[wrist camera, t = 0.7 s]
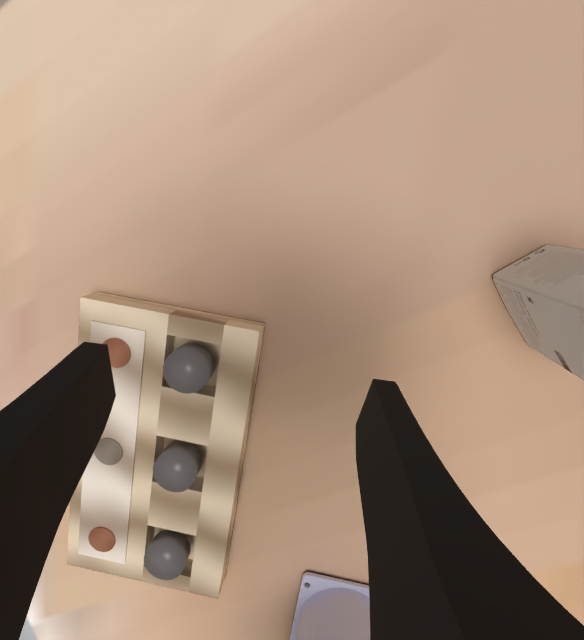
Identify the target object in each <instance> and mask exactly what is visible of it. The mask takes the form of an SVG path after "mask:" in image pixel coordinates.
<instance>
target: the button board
mask: <svg viewBox="0 0 584 640" xmlns="http://www.w3.org/2000/svg"><path fill="white" fill-rule="evenodd" d="M264 327H265V323H261V322H255V321H250V320H245V319H239V318H234V317H229V316H224V315H218V314H213V313H208V312H202V311H197V310H192V309H187V308H181V307H176V306H171V305H165V304H160V303H155V302H149V301H144V300H139V299H134V298H128V297H123V296H118V295H112V294H107V293H102V292H96V293H93V294H90V295H87V296H84V297H81V299H80V319H79V339H78V346H79V345H80V344H82V343H83V342H91V343H99V344H107V345H108V350H109V356H110V362H111V368H112V374H113V380H114V386H115V392H116V397H115V400H114V403H113V406H112V410H111V413H110V416H109V418H108V421H107V424H106V427H105V430H104V432H103V434H102V436H101V438H100V440H99V442H98V445H97V447H96V449H95V451H94V453H93V455H92V457H91V459H90V461H89V463H88V465H87V467H86V469H85V471H84V473H83V475H82V477H81V479H80V481H79V483H78V485H77V488H76V490H75V492H74V494H73V496H72V498H71V500H70V517H69V537H68V556H67V564H68V565H73V566H77V567H81V568H86V569H90V570H94V571H99V572H103V573H107V574H112V575H116V576H120V577H125V578H129V579H133V580H138V581H142V582H146V583H151V584H155V585H160V586H164V587H168V588H173V589H177V590H181V591H186V592H190V593H194V594H199V595H203V596H207V597H212V598H216V599H218V598H219V595H220V592H221V589H222V585H223V582H224V579H225V576H226V570H227V563H228V557H229V550H230V544H231V538H232V531H233V525H234V519H235V512H236V506H237V499H238V493H239V487H240V480H241V474H242V468H243V461H244V455H245V448H246V442H247V436H248V429H249V423H250V417H251V410H252V404H253V397H254V391H255V385H256V378H257V372H258V366H259V359H260V353H261V346H262V340H263V334H264ZM186 343H197V344H200V345H202V346H204V347H205V348H207V349H208V350H209V351H210V353H211V354H212V356H213V359H214V362H215V369H214V372H213V375H212V376H211V378H210V379H209V380H208V381H207V383H206V384H205V385H204V386H203V387H202V388H201V389H200V390H199V391H197V392H194V393H189V394H185V393H180V392H178V391H176V390H174V389H173V388H172V387H170V386H169V384H168V383H167V382H166V380H165V378H164V374H163V365H164V362H165V360H166V358H167V357H168V356H169V355H170V354H171V353H172V352H174V351H175V350H176V349H177V348H178V347H180V346H181V345H183V344H186ZM174 442H185V443H188V444H190V445H192V446H193V447H195V448H196V449H197V450H198V452H199V454H200V456H201V459H202V467H201V470H200V471H199V473H198V475H197V477H196V479H195V481H194V482H193V484H192V486H191V487H190V488H189V489H187V490H185V491H183V492H170V491H167V490H165V489H164V488H162V487H161V486H160V485H159V484H158V483H157V482H156V480H155V478H154V475H153V465H154V463H155V461H156V460H157V458H158V457H159V456H160V454H161V453H162V452H163V450H164V449H165V448H166V447H167V446H168V445H169V444H171V443H174ZM164 530H171V531H176V532H179V533H181V534H182V535H184V536H185V537H186V538H187V540H188V541H189V544H190V547H191V551H190V555H189V557H188V559H187V562H186V564H185V566H184V569H183V571H182V573H181V574H180V575H179V576H178V577H177V578H175V579H172V580H161V579H158V578H156V577H154V576H153V575H151V574H150V573H149V572H148V570H147V569H146V567H145V565H144V555H145V553H146V551H147V549H148V548H149V546H150V544H151V543H152V541H153V539H154V537H155V536H156V535H157V534H158V533H159V532H161V531H164Z"/></svg>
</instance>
